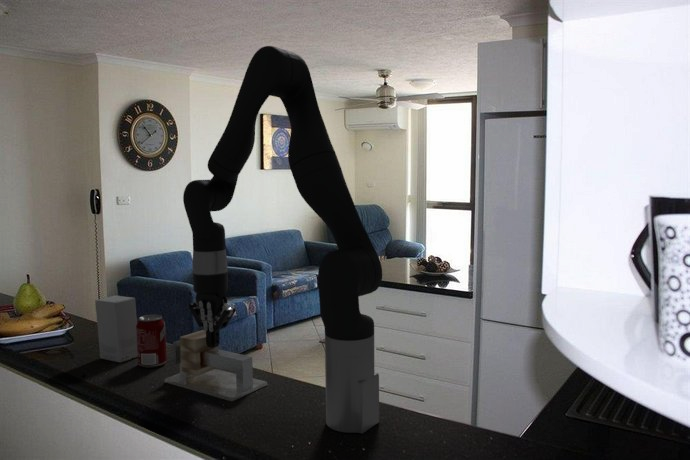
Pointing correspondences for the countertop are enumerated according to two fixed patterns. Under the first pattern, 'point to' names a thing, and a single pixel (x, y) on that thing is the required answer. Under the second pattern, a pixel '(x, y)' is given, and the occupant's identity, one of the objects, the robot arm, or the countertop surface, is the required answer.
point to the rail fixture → (219, 374)
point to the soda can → (151, 341)
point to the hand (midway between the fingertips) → (212, 346)
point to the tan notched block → (194, 353)
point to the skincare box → (117, 328)
